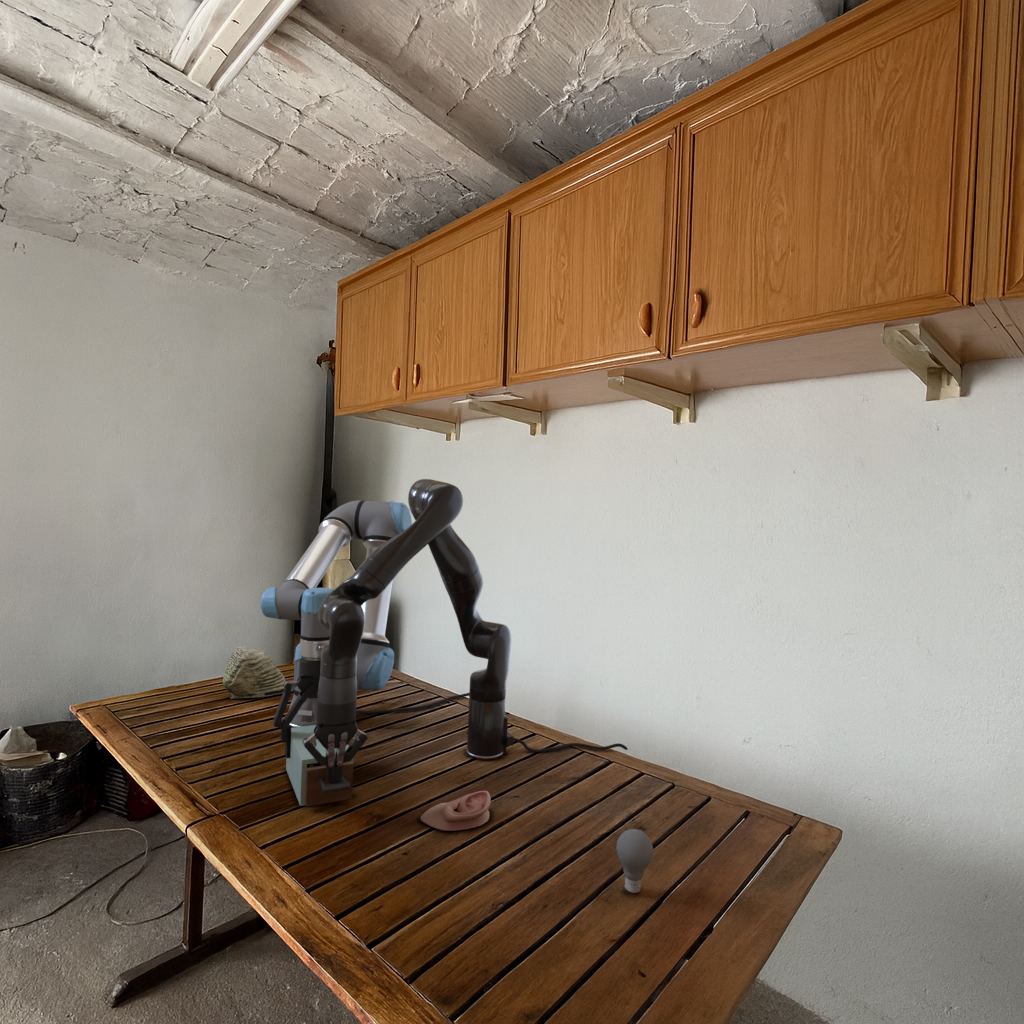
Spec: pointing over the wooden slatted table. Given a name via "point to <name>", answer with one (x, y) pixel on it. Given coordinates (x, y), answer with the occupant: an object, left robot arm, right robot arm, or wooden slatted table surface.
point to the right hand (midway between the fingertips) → (333, 783)
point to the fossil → (252, 674)
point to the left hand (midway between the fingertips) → (313, 752)
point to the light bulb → (634, 857)
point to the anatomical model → (459, 812)
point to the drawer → (327, 785)
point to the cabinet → (301, 759)
